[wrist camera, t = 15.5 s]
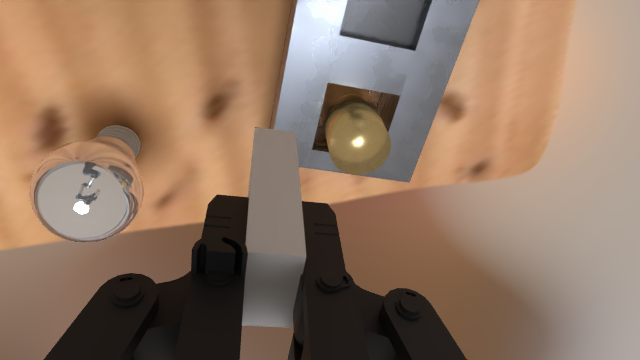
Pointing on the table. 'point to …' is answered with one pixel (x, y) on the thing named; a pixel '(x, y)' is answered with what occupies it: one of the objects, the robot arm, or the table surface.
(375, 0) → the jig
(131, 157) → the light bulb
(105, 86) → the table surface
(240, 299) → the robot arm
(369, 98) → the brass cylinder
